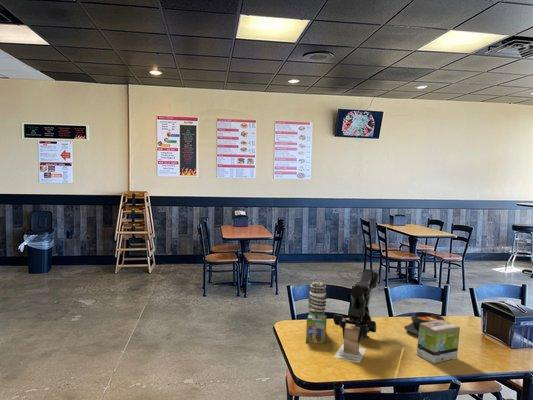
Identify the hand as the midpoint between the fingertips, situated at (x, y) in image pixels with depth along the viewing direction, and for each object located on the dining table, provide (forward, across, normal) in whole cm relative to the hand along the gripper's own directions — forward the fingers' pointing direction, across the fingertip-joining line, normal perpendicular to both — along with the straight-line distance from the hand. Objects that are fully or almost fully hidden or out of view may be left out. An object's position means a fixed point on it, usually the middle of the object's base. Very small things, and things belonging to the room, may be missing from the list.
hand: (351, 340), depth 176 cm
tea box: (-8, +35, +18) cm, 40 cm away
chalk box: (0, -18, +10) cm, 21 cm away
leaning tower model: (-8, -22, +18) cm, 29 cm away
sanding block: (+3, 0, +5) cm, 6 cm away
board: (+4, 0, +5) cm, 7 cm away
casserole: (-29, +30, +39) cm, 57 cm away
